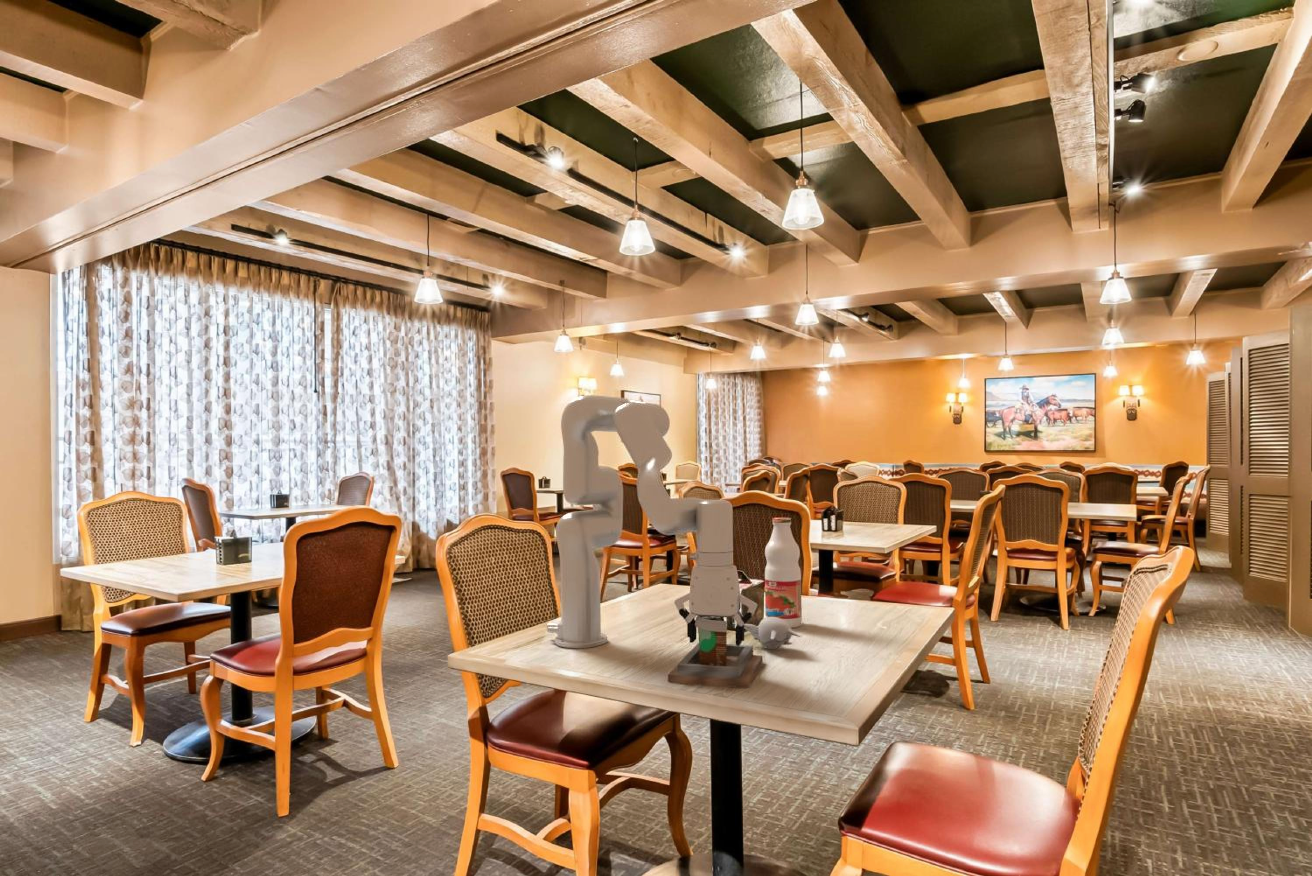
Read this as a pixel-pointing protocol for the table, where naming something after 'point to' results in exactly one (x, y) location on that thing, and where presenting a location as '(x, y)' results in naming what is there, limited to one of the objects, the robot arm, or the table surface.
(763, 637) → the toy creature
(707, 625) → the food container
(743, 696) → the table surface
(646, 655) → the table surface
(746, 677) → the square wooden tray
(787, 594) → the fruit juice
